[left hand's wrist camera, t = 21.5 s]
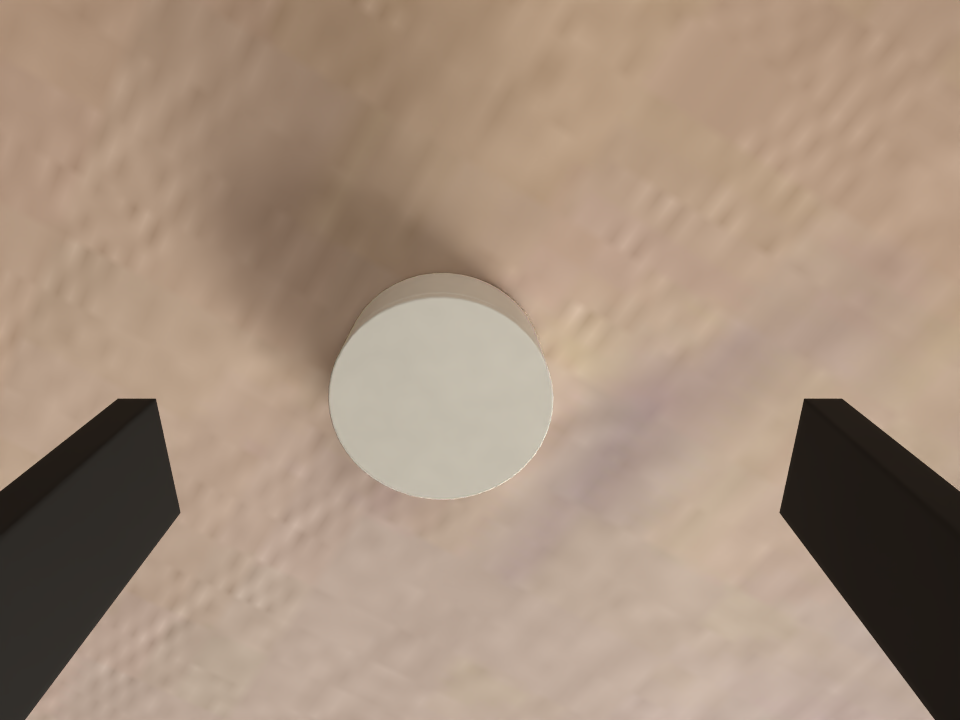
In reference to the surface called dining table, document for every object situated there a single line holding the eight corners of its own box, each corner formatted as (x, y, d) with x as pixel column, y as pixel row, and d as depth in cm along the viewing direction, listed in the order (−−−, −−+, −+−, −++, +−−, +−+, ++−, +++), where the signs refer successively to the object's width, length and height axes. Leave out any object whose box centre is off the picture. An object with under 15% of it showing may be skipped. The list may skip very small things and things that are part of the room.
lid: (565, 421, 18) (579, 463, 16) (390, 477, 18) (380, 525, 16) (506, 243, 16) (513, 263, 14) (311, 312, 16) (289, 341, 14)
